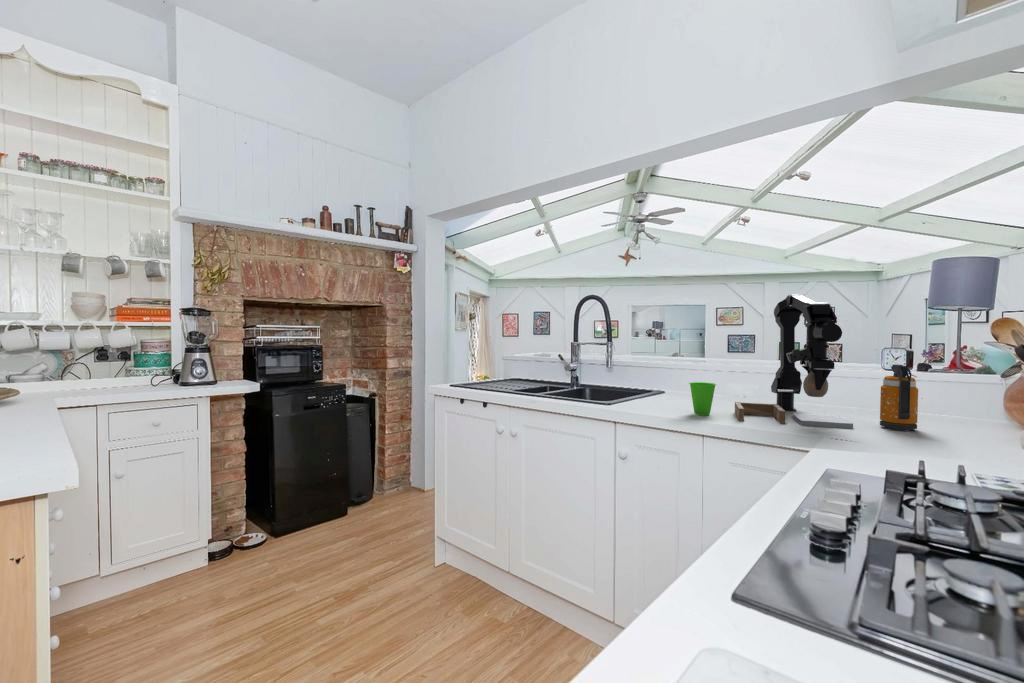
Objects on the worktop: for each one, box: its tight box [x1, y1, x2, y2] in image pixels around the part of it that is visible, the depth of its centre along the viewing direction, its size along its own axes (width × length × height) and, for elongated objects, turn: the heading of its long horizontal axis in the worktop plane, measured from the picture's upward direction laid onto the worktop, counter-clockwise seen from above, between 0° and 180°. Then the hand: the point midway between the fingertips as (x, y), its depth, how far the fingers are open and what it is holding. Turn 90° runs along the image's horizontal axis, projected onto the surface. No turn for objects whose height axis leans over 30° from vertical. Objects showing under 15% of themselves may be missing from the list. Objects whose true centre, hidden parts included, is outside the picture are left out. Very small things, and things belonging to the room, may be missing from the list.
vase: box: [802, 372, 829, 398], centre depth 155 cm, size 7×7×9 cm
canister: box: [879, 364, 919, 432], centre depth 145 cm, size 9×11×20 cm
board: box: [791, 412, 854, 429], centre depth 155 cm, size 14×14×2 cm
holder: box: [734, 401, 787, 424], centre depth 163 cm, size 15×14×4 cm
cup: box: [688, 381, 717, 416], centre depth 169 cm, size 9×9×11 cm
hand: (815, 388), depth 155 cm, fingers closed on vase, 7 cm apart
